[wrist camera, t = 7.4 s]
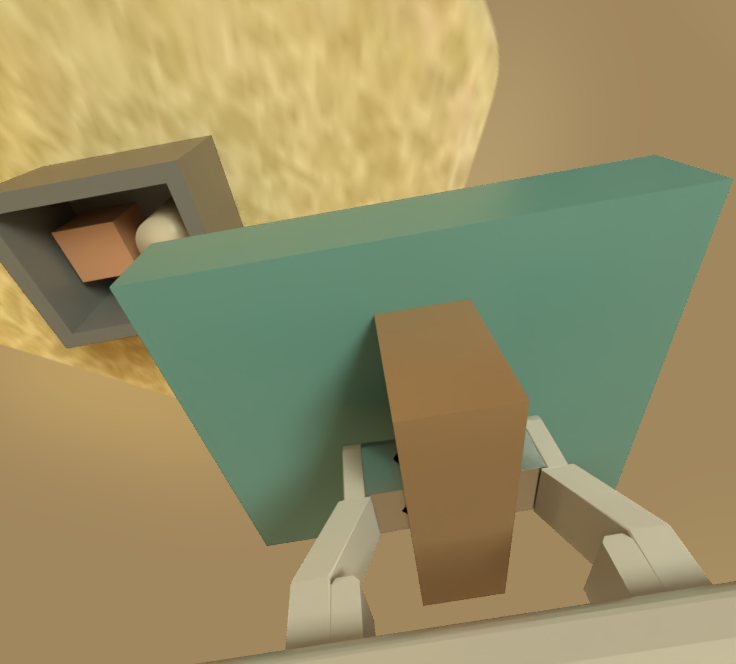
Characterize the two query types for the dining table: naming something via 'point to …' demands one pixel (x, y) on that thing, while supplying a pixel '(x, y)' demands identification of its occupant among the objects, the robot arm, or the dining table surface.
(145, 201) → the storage box
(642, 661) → the robot arm
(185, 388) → the lid
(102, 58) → the dining table surface
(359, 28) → the dining table surface
